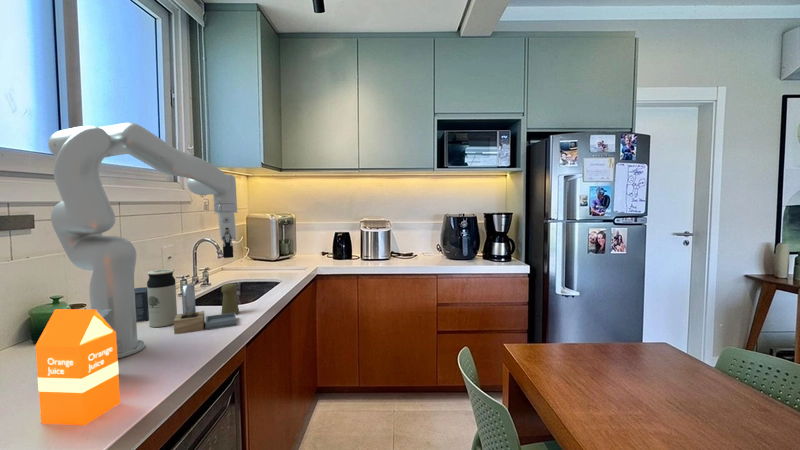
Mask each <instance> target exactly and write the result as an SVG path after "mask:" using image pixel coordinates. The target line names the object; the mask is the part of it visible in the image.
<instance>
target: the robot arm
mask: <svg viewBox="0 0 800 450" xmlns="http://www.w3.org/2000/svg"><path fill="white" fill-rule="evenodd" d="M47 145H48V149H49V151H50V153H51V154H52V155H53V156H54V157H55V162H54V165H53V178H54V182H55V184H56V187H57V190H58V192H59V194H60V197H61V199H62V200H61V201H59V202H58V203H56V204H55V206H54V207H53V208H52V210H51V213H50V214H51V215H50V221H51V226H52V228H53V230H54V232H55V234H56V236H57V239H58V240H59V242H60V244H61V247H62V248H63V250H64V252H65V254H66V256H67V257H68V259H69V261H70V262H71V263H72V264H73V265H74V266H75V267H77V268H79V269H81V270H85V271H86V270H87V271H92V273H91V278H90V281H89V290H88V291H89V306H90V310H106V309H112V310H113V330H114V331H115V332H116V343H117V359H120V358H125V357H128V356H131V355H134V354H136V353H139V352H140V351H142V350H143V349H144V348H145V341H144V340H141V339H138V328H137V322H136V307H135V291H134V289H135V269H136V263H137V251H136V247H135V245H134V244H133V243H132V242H131V241H130V240H129V239H126V238H124V237H122V236H117V235H103V233H105V232H107V231H110V230H111V229H112V228H113V227H114V225H115V223H116V214H115V212H114V209H113V207H112V205H111V203H110V200H109V198H108V196H107V193H106V191H105V188H104V186H103V183H102V180H101V178H100V167H101V164H102V162H103V161H104V159H105V158H109V157H114V156H116V157H117V156H122V155H130V156H132V157H133V158H134V159H136V160H139V161H141V162H143V163H144V164H146V165H147V166H149V167H150V168H153V169H154V170H156V171H157V172H160V173H162V174H166V175H169V176H173V177H174V176H175V177H182V178H187V182H186V185H187V186H186V187H187V188H188V190H189V191H190V192H191V193H192V194H195V195H199V196H208V195H209V196H211V195H213V209H214V210H213V212H214V214H217V215H218V217H217V218H218V228H219V229H218V230H219V237H220V240H221V241H223V244H222V254H223V255H222V256H223V259H227V258H228V259H231V258H234V245H233V241H236V240H237V233H236V217H235V216H236V215H235V214H236V213H238V200H237V199H238V197H237V180H236V177H235V175H233V174H226V173H225V172H223V170H221V169H220V168H219V167H217V166H216V165H214V164H213V163H211V162H209V161H207V160H205V159H202V158H199V157H197V156H194V155H192V154H190V153H187V152H185V151H181V150H179V149H178V148H175V147H174V146H172V145H171V144H169V143H167V142H166V141H165V140H163V139H162V138H160V137H159V136H157V135H156V134H154V133H153V132H151V131H149V130H148V129H147V128H145V127H143V126H142V125H140V124H138V123H134V122H122V123H117V124H116V123H115V124H111V125H110V124H109V125H103V126H95V125H82V126H81V125H80V126H74V127H72V128H71V127H70V128H65V129H60V130H57V131H55V132H54V133H52V134H51V135H50V137H49V139H48V144H47Z"/></svg>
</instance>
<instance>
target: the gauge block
mask: <svg viewBox="0 0 800 450" xmlns="http://www.w3.org/2000/svg"><path fill="white" fill-rule="evenodd" d="M205 320H206V317H205V310H202V311H196V317H192V318H184V319H183V313H177V315H176V317H175V319H174V324H173V333H174V335H176V334H182V333H183V334H184V333H189V332H190V333H191V332H195V331H196V332H197V331H203V330H205Z"/></svg>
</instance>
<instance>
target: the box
mask: <svg viewBox="0 0 800 450" xmlns="http://www.w3.org/2000/svg"><path fill="white" fill-rule="evenodd" d="M134 291H135V307H136V323H137V322H138V323H140V322H148V321H149V310H148V292H147V286H146V287H136V288H135V287H134Z"/></svg>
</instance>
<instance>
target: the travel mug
mask: <svg viewBox="0 0 800 450" xmlns="http://www.w3.org/2000/svg"><path fill="white" fill-rule="evenodd" d="M174 272H175V270H174V269H172V268H170V269H169V268H167V269H156V270H150V271H148V272H147V276H148V280H147V282H146V285H147V286H146V287H147V292H148V310H149V319H148V324H149V327H152V328H163V327H169V326H172V325H174V319H175V317H176V315H177V314H178V310H177V309H178V304H177V288H176V285H177V284H176V278H175V277H174V276H173V275H174Z"/></svg>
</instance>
